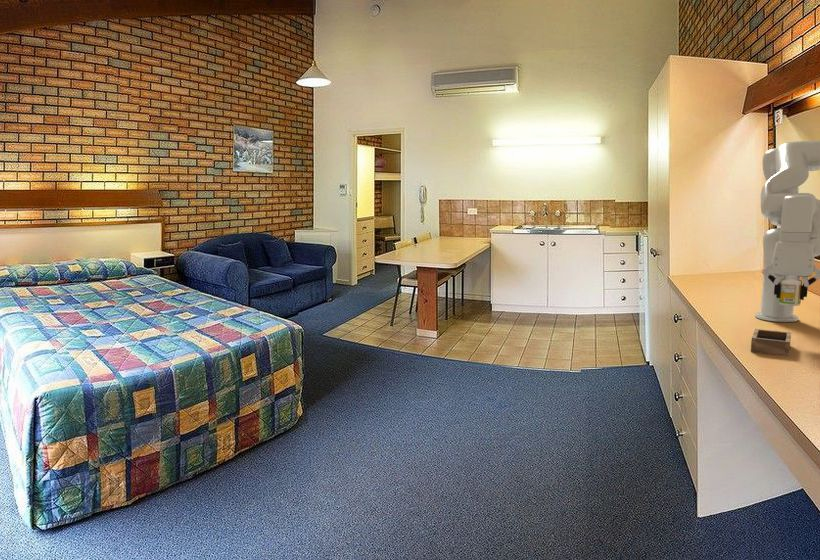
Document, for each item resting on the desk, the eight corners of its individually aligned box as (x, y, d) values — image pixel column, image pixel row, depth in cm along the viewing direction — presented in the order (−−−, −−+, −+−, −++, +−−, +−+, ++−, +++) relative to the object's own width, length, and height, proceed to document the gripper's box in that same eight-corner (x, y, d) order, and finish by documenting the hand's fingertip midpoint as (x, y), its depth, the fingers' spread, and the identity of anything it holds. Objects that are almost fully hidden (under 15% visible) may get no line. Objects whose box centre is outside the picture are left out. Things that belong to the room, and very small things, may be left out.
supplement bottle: (791, 301, 169) (794, 270, 167) (804, 305, 164) (807, 273, 162) (774, 302, 169) (776, 271, 167) (786, 306, 164) (789, 274, 162)
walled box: (754, 341, 168) (755, 328, 168) (790, 345, 163) (791, 332, 162) (750, 351, 159) (751, 337, 158) (788, 356, 153) (789, 342, 153)
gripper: (831, 237, 161) (825, 298, 164) (761, 235, 171) (757, 293, 174) (832, 240, 155) (825, 303, 158) (759, 238, 165) (755, 298, 168)
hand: (789, 297), depth 166 cm, fingers closed on supplement bottle, 5 cm apart
